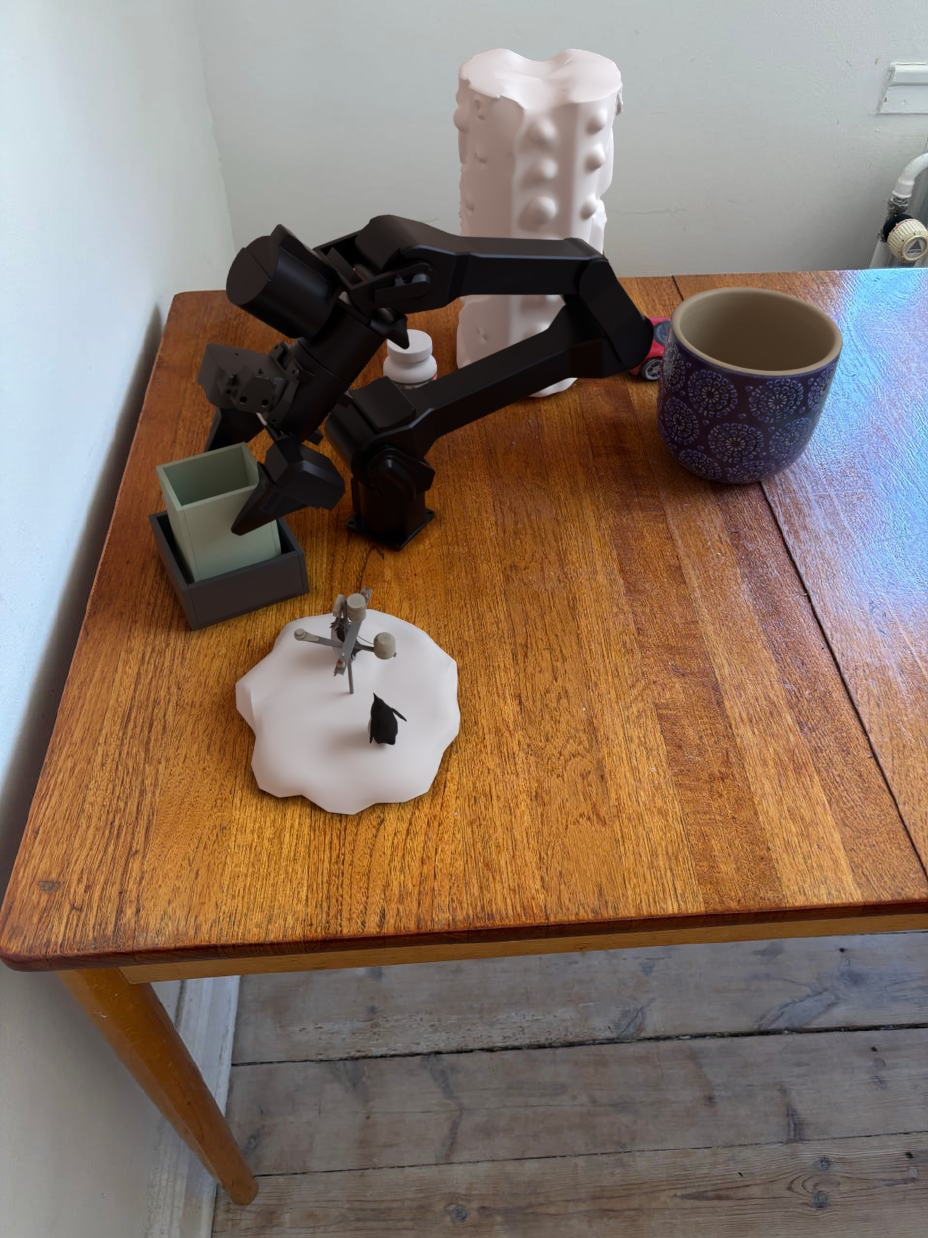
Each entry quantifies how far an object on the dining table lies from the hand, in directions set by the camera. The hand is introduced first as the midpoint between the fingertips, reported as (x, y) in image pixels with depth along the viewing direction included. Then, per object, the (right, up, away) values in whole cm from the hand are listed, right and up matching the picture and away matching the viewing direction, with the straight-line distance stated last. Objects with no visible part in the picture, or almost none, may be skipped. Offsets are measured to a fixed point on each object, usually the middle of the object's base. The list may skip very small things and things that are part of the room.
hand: (218, 501), depth 88 cm
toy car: (+49, +20, +33) cm, 62 cm away
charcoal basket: (0, -6, +6) cm, 9 cm away
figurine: (+12, -18, -5) cm, 22 cm away
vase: (+28, +20, +32) cm, 47 cm away
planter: (+49, +7, +20) cm, 54 cm away
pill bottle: (+16, +11, +23) cm, 30 cm away
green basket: (0, -6, +6) cm, 8 cm away
